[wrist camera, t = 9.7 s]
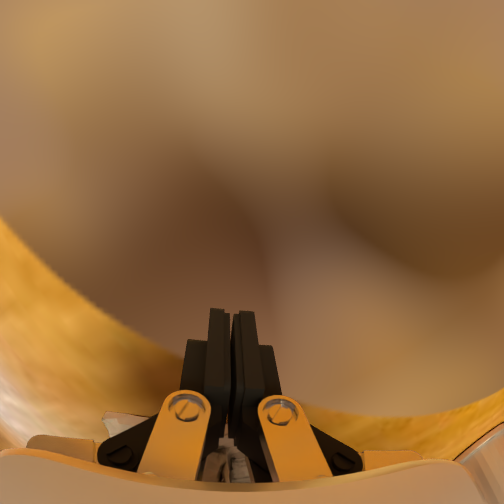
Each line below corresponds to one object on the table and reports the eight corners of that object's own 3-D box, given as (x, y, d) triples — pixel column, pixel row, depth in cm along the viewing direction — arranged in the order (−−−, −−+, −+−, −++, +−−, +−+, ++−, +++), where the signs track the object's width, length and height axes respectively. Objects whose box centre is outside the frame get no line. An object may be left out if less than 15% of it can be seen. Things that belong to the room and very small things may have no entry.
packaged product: (248, 538, 18) (149, 532, 17) (245, 502, 23) (153, 496, 22) (271, 483, 12) (85, 464, 11) (262, 416, 16) (104, 403, 15)
